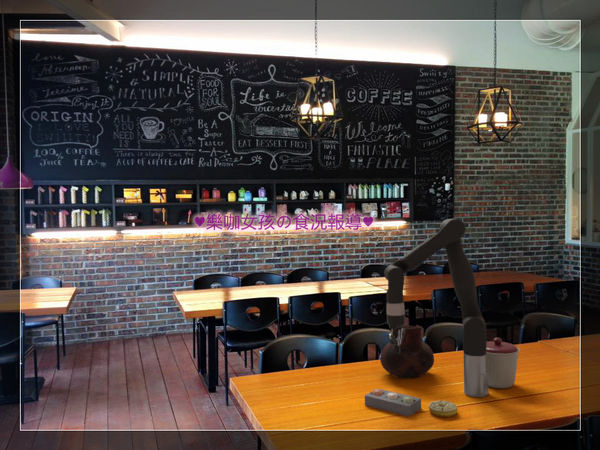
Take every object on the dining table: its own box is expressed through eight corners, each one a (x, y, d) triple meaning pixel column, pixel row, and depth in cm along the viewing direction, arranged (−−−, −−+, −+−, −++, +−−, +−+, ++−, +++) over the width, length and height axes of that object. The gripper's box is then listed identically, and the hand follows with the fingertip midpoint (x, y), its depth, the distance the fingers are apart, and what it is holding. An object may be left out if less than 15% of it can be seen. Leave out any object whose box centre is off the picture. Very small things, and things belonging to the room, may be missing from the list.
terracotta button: (384, 400, 216) (384, 390, 216) (379, 403, 213) (379, 393, 213) (376, 398, 219) (375, 388, 219) (370, 401, 216) (370, 391, 216)
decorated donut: (443, 406, 211) (443, 396, 211) (463, 415, 202) (463, 405, 202) (423, 411, 207) (423, 401, 207) (442, 420, 197) (442, 410, 197)
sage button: (415, 408, 207) (415, 397, 207) (410, 411, 204) (410, 400, 204) (406, 405, 210) (406, 395, 210) (401, 409, 207) (401, 398, 207)
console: (421, 408, 209) (421, 398, 209) (409, 416, 201) (408, 406, 201) (377, 397, 222) (377, 388, 222) (364, 405, 214) (364, 395, 214)
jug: (430, 367, 261) (429, 317, 260) (438, 384, 236) (437, 329, 235) (379, 366, 263) (378, 317, 263) (382, 384, 238) (380, 329, 238)
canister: (524, 393, 222) (523, 343, 222) (479, 391, 226) (478, 342, 225) (515, 378, 240) (515, 333, 239) (474, 377, 244) (473, 332, 243)
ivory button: (399, 404, 212) (399, 393, 212) (394, 407, 209) (394, 396, 209) (390, 402, 214) (390, 391, 214) (385, 405, 211) (385, 394, 211)
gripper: (396, 316, 215) (398, 358, 215) (410, 310, 225) (412, 350, 226) (380, 315, 219) (382, 356, 220) (394, 309, 230) (396, 348, 230)
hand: (397, 353), depth 223 cm, fingers closed
